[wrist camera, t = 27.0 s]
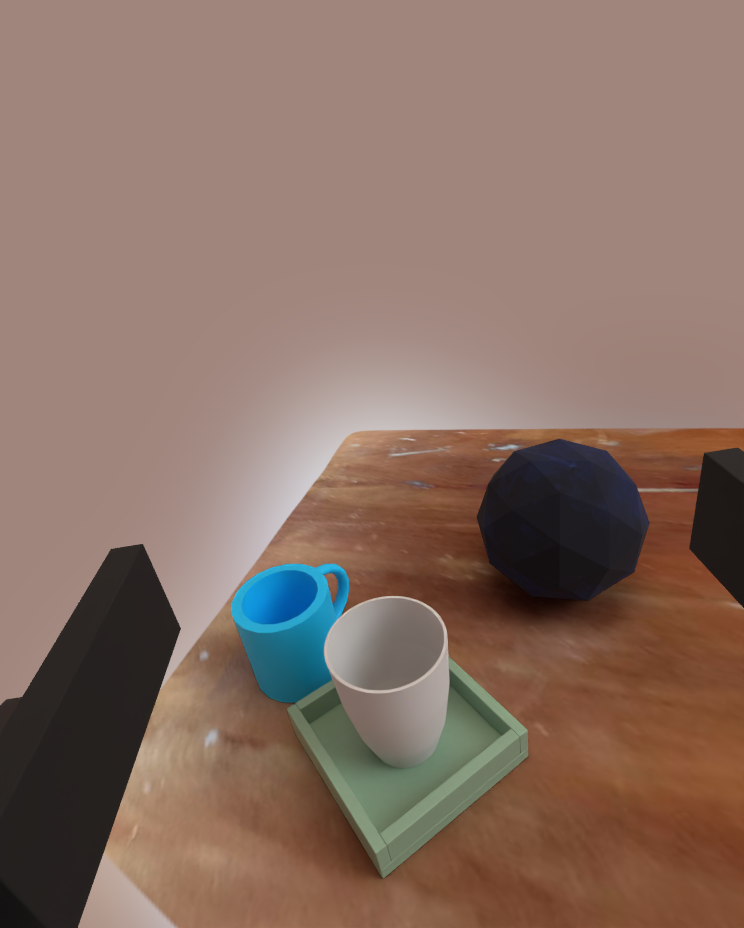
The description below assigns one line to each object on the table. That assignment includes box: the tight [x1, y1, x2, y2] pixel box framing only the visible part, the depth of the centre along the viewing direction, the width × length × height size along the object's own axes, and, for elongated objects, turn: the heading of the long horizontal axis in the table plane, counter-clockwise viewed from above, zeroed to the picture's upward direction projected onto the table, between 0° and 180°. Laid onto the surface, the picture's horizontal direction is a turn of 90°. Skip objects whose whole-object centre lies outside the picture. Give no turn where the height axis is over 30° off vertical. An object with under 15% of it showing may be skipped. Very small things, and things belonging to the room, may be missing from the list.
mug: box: [231, 564, 349, 703], centre depth 49 cm, size 12×8×8 cm
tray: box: [287, 656, 528, 879], centre depth 40 cm, size 13×13×3 cm
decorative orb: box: [477, 439, 649, 601], centre depth 50 cm, size 14×15×15 cm
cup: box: [324, 596, 449, 768], centre depth 38 cm, size 8×8×10 cm
